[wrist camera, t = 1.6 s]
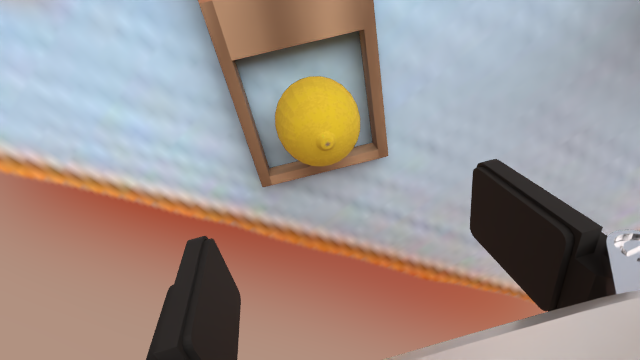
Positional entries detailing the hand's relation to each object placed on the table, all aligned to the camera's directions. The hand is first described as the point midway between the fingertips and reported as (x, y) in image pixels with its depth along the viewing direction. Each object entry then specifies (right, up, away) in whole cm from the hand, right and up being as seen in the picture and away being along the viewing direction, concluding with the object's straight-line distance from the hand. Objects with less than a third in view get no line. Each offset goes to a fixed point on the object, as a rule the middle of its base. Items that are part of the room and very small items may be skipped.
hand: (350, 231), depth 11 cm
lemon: (-2, +8, +13) cm, 16 cm away
